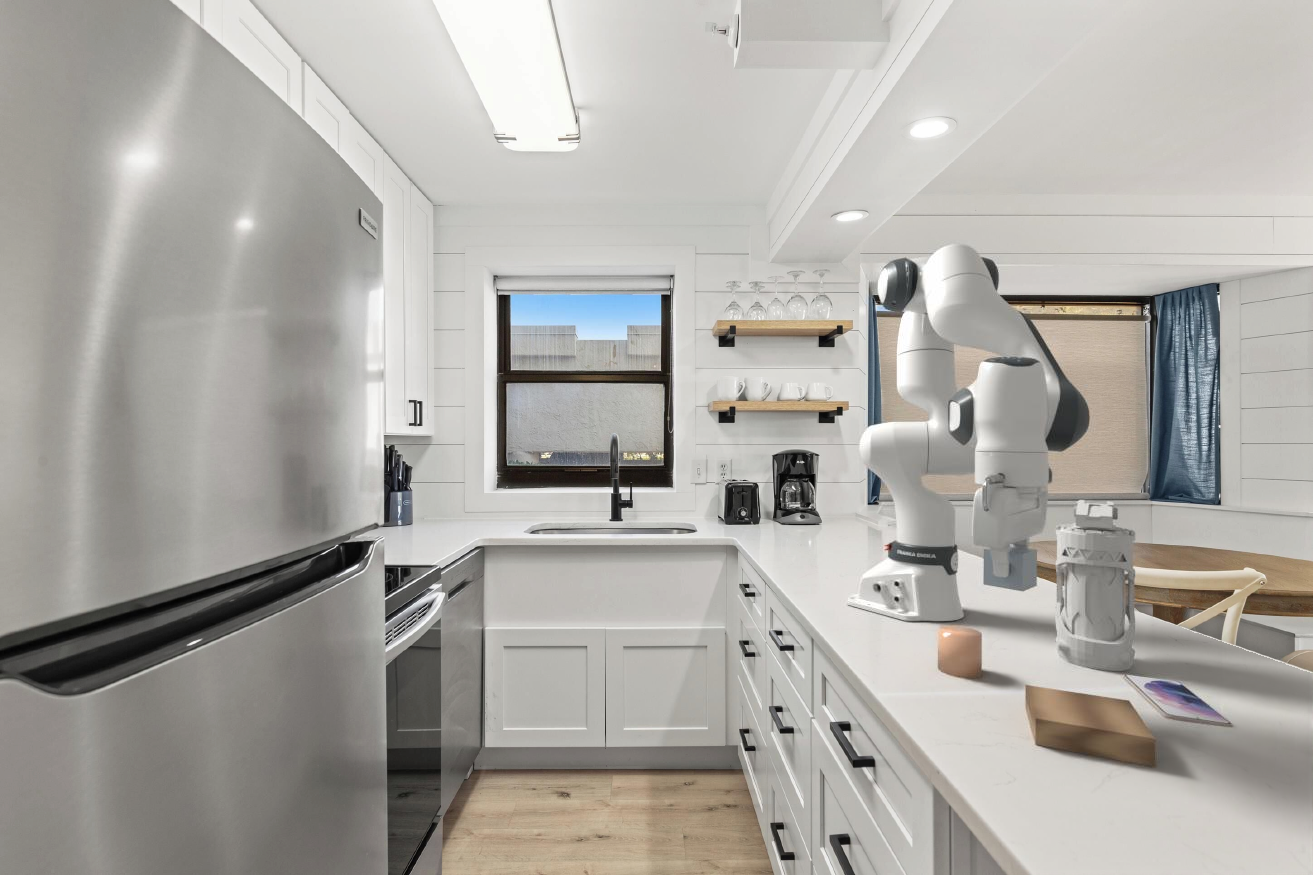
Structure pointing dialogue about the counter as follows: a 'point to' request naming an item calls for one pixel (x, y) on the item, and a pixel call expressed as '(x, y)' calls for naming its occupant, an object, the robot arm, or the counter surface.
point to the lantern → (1095, 589)
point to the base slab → (1089, 725)
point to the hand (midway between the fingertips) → (1009, 572)
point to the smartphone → (1175, 701)
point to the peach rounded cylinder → (960, 651)
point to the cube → (1013, 570)
